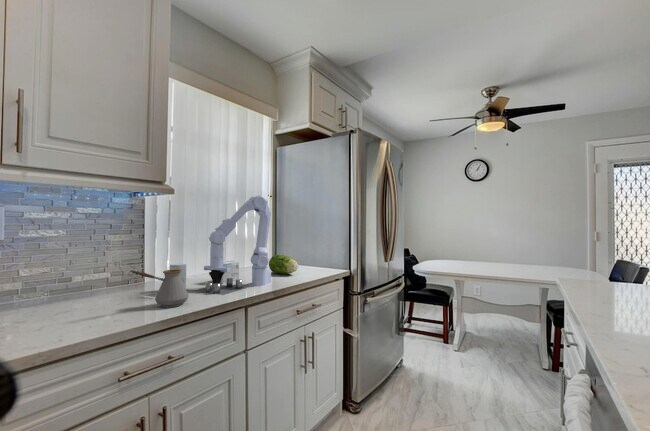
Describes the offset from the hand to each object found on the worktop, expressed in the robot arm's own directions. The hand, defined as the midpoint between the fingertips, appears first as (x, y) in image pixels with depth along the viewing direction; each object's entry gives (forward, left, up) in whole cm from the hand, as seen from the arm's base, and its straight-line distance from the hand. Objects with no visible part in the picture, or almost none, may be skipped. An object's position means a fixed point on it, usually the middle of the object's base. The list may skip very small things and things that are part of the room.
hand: (216, 286), depth 144 cm
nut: (0, -4, -1) cm, 4 cm away
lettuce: (-51, +3, -2) cm, 51 cm away
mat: (0, +2, -2) cm, 3 cm away
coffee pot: (+31, +3, -2) cm, 31 cm away
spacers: (0, +2, -1) cm, 2 cm away
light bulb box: (-16, -9, -2) cm, 18 cm away
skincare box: (+8, -16, -2) cm, 18 cm away
